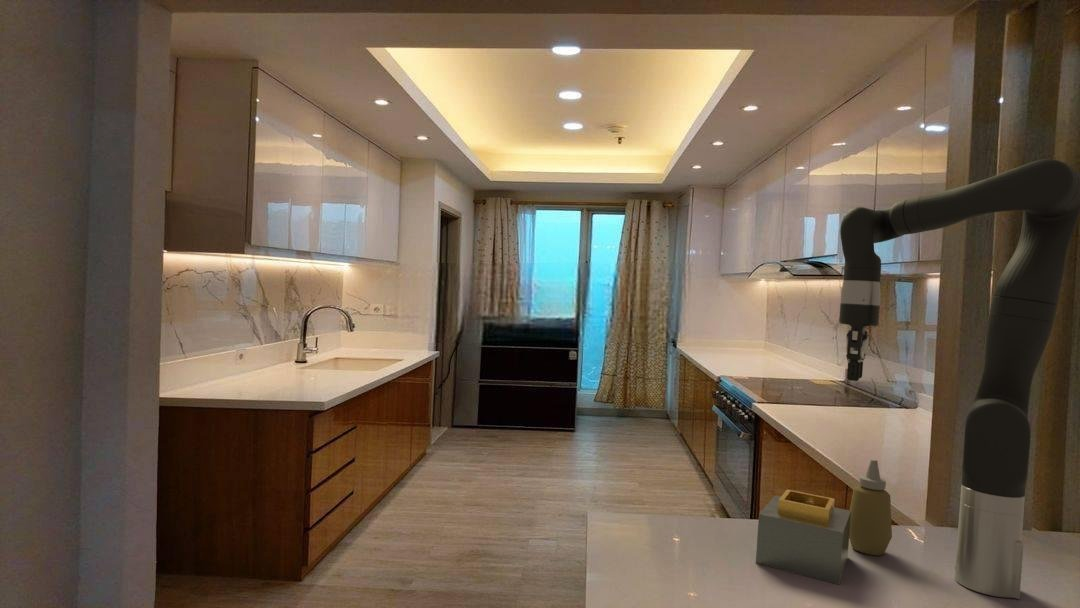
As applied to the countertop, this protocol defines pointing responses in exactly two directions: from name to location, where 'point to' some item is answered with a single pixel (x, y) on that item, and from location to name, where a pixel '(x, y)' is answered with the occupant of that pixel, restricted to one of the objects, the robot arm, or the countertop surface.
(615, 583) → the countertop surface
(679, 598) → the countertop surface
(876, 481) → the squeeze bottle
